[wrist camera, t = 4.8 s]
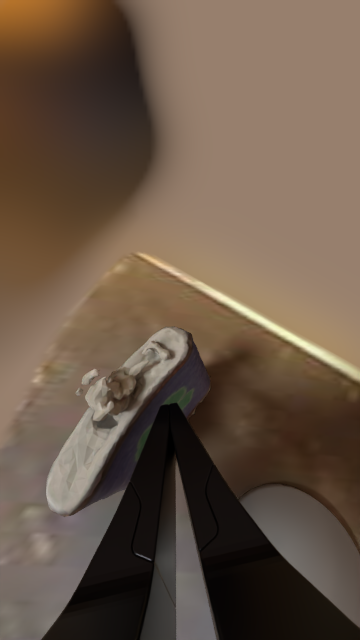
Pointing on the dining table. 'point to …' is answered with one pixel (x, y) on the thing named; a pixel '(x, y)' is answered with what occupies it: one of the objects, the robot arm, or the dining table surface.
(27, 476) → the dining table surface
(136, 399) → the flask
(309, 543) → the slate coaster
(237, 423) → the dining table surface
